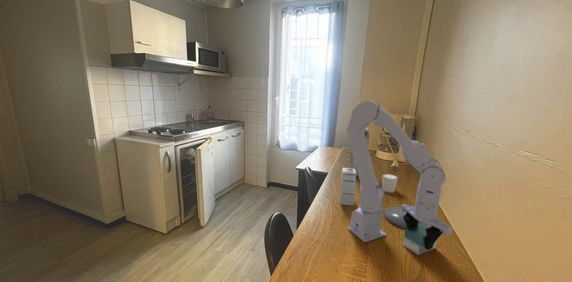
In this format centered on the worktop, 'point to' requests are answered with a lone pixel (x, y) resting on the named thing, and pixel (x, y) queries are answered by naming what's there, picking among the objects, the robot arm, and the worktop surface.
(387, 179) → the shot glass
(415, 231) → the block
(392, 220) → the slate stand
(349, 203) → the syrup box
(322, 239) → the worktop surface
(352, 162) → the juice carton
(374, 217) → the robot arm
